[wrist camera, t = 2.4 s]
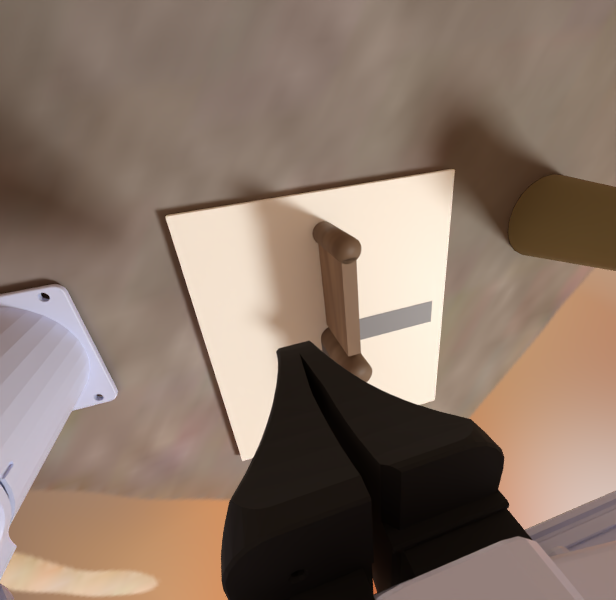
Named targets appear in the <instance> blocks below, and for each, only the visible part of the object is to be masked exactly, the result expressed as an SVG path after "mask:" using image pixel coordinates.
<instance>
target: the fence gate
mask: <svg viewBox="0 0 616 600" xmlns="http://www.w3.org/2000/svg"><path fill="white" fill-rule="evenodd" d="M312 235H313V238H314V240H315V241H316V242H317V243H318V246H319V256H320V265H321V275H322V285H323V294H324V304H325V314H326V323H327V326H328V327H329V329H330V330H331V332H332V333H333V335H334V336H335V338H336V339H337V340H338V342H339V343H340V345H341V346H342V348H343V349H344V351H345V352H346V354H347V355H348V357H349V356H353V355H356V354H360V353H361V343H360V322H359V302H358V282H357V261H356V260H357V259H358V258H359V256H360V254H361V244H360V242H359V240H357V239H356V238H354V237H353V236H351V235H349V234H348V233H346V232H344V231H343V230H341V229H339V228H338V227H336V226H334V225H333V224H331V223H329V222H327V221H322V222H319V223H318V224H316V226H315V227H314V229H313V233H312Z"/></svg>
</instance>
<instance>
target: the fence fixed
mask: <svg viewBox="0 0 616 600" xmlns="http://www.w3.org/2000/svg"><path fill="white" fill-rule="evenodd" d="M321 341H322V344H323V345H324V347H325V349H326V350H327V352H328V354H329V356H330V358H331V359H333V360H334V361H335V362H337V363H338V364H339V365H341V366H342V367H343V368H345V369H346V370H348V371H349V372H351V373H352V374H354V375H355V376H357V377H359V378H360V379H362V380H363V381H365V382H368V380H369V379H370V378H371V375H372V368H371V366H370V365H369V363H368V362H367V361H366V359H365V358H364V357H363V355H362V354H361V353H360V354H356V355H353V356H349V357H348V355H347V354H346V352H345V351H344V349H343V348H342V346H341V345H340V343H339V342H338V340H337V339H336V338H335V336H334V335H333V333H332V332H331V330H330V329H329V327H328V328H326V329H325V330H324V331H323V333H322V335H321Z"/></svg>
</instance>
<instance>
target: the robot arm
mask: <svg viewBox="0 0 616 600" xmlns="http://www.w3.org/2000/svg"><path fill="white" fill-rule="evenodd" d="M41 293H46V294H48V295H49V297H50V299H46V298H43V297H42V296H41ZM276 354H277V359H278V373H277V383H276V389H275V394H274V399H273V404H272V408H271V412H270V415H269V418H268V422H267V425H266V428H265V430H264V433H263V436H262V439H261V441H260V444H259V446H258V448H257V450H256V453H255V455H254V457H253V459H252V461H251V463H250V465H249V468H248V470H247V471H246V473H245V475H244V477H243V479H242V481H241V482H240V484H239V486H238V488H237V489H236V491H235V493H234V495H233V496H232V498H231V500H230V502H229V506H228V511H227V516H226V520H225V526H224V532H223V540H222V550H221V569H222V570H221V572H222V585H223V589H224V592H225V594H226V596H227V598H228V600H616V491H614V492H612V493H609V494H607V495H605V496H603V497H600V498H598V499H595V500H593V501H591V502H588V503H586V504H584V505H581V506H579V507H577V508H574V509H572V510H570V511H567V512H565V513H563V514H561V515H558V516H556V517H553V518H551V519H549V520H546V521H544V522H542V523H539V524H537V525H535V526H532V527H530V528H528V529H525V530H524V529H523V528H522V526H521V525H520V524H519V523H518V522H517V520H516V519H515V518H514V517H513V516H512V514H511V513H510V512H509V511H508V510H507V508H508V507H509V503H508V501H507V500H506V499H505V497H504V496H503V495H502V494H501V493H500V491H499V490H498V487H499V483H500V479H501V475H502V471H503V464H504V456H503V452H502V450H501V448H500V447H499V446H498V445H497V444H496V443H495V442H494V441H493V440H492V439H491V438H490V437H489V436H488V435H487V434H486V433H485V432H484V431H483V430H482V429H481V428H480V427H479V426H478V425H477V424H475V423H474V422H473V421H472V420H471V419H467V418H463V417H459V416H455V415H451V414H447V413H443V412H439V411H436V410H432V409H429V408H426V407H423V406H420V405H417V404H414V403H411V402H408V401H406V400H403V399H401V398H399V397H396V396H394V395H391V394H389V393H387V392H385V391H382V390H380V389H378V388H376V387H375V386H373V385H371V384H369V383H367V382H365V381H363V380H362V379H360V378H359V377H357V376H355V375H354V374H352V373H351V372H349V371H348V370H346V369H345V368H343V367H342V366H341V365H339V364H338V363H337V362H335V361H334V360H333V359H331V358H330V357H329V356H327V355H326V354H325V353H324V352H323V351H321V350H320V349H319V348H318V347H317V346H316V345H314V344H313V343H312V342H311V341H305V342H301V343H297V344H294V345H290V346H286V347H282V348H278V350H277V351H276ZM117 393H118V390H117V388H116V386H115V384H114V382H113V380H112V378H111V376H110V374H109V372H108V370H107V368H106V366H105V364H104V362H103V360H102V358H101V356H100V354H99V352H98V350H97V348H96V346H95V344H94V342H93V340H92V338H91V336H90V334H89V332H88V330H87V329H86V327H85V325H84V323H83V321H82V319H81V317H80V315H79V313H78V311H77V309H76V307H75V305H74V303H73V301H72V299H71V297H70V295H69V293H68V291H67V290H66V288H65V287H63V286H61V285H58V284H52V285H46V286H41V287H36V288H30V289H25V290H20V291H15V292H9V293H4V294H0V580H1V578H2V576H3V573H4V571H5V569H6V567H7V565H8V563H9V561H10V559H11V557H12V555H13V553H14V551H15V549H16V547H17V546H16V545H15V544H14V543H13V542H12V541H11V539H10V537H9V534H8V530H9V526H10V525H11V523H12V520H13V519H14V517H15V515H16V513H17V512H18V510H19V508H20V506H21V504H22V502H23V500H24V499H25V497H26V495H27V493H28V491H29V489H30V487H31V486H32V484H33V482H34V480H35V478H36V476H37V474H38V473H39V471H40V469H41V467H42V465H43V463H44V461H45V460H46V458H47V456H48V454H49V452H50V450H51V448H52V447H53V445H54V443H55V441H56V439H57V437H58V435H59V434H60V432H61V430H62V428H63V426H64V424H65V423H66V421H67V419H68V417H69V415H70V413H71V411H73V410H77V409H81V408H85V407H89V406H93V405H96V404H100V403H104V402H108V401H111V400H114V399H115V398H116V396H117ZM97 394H101V395H102V397H99V396H97ZM373 580H374V583H375V587H376V589H377V593H376V594H374V595H373ZM0 600H14V597H13V595H12V594H11V593H10V591H9V590H8V588H6V587H5V586H3V585H2V584H0Z"/></svg>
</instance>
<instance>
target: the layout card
mask: <svg viewBox="0 0 616 600" xmlns="http://www.w3.org/2000/svg"><path fill="white" fill-rule="evenodd" d="M454 174H455V169H447V170H441V171H435V172H429V173H423V174H417V175H410V176H404V177H398V178H392V179H386V180H380V181H373V182H367V183H361V184H355V185H349V186H343V187H336V188H330V189H324V190H318V191H312V192H306V193H299V194H293V195H287V196H281V197H275V198H269V199H262V200H256V201H250V202H244V203H238V204H232V205H225V206H219V207H213V208H207V209H201V210H195V211H188V212H182V213H176V214H170V215H166V216H165V217H166V221H167V224H168V227H169V230H170V233H171V236H172V240H173V243H174V246H175V249H176V252H177V255H178V259H179V262H180V265H181V268H182V271H183V274H184V278H185V281H186V284H187V287H188V290H189V293H190V297H191V300H192V303H193V306H194V309H195V312H196V316H197V319H198V322H199V325H200V328H201V331H202V335H203V338H204V341H205V344H206V347H207V350H208V354H209V357H210V360H211V363H212V366H213V369H214V373H215V376H216V379H217V382H218V385H219V389H220V392H221V395H222V398H223V401H224V404H225V408H226V411H227V414H228V417H229V420H230V423H231V427H232V430H233V433H234V436H235V439H236V442H237V446H238V449H239V452H240V455H241V458H242V461H244V460H247V459H251V458H253V457H254V455H255V453H256V450H257V448H258V446H259V444H260V441H261V439H262V436H263V433H264V430H265V428H266V425H267V422H268V418H269V415H270V412H271V408H272V404H273V399H274V394H275V389H276V383H277V373H278V359H277V354H276V351H277V350H278V348H282V347H286V346H290V345H294V344H297V343H301V342H305V341H311V342H312V343H313V344H314V345H316V346H317V347H318V348H319V349H320V350H321V351H323V352H324V353H325V354H326V355H327V356H329V354H328V352H327V350H326V349H325V347H324V345H323V344H322V341H321V335H322V333H323V331H324V330H325V329H326V328H328V326H327V323H326V314H325V304H324V294H323V285H322V275H321V265H320V256H319V246H318V243H317V242H316V241H315V240H314V238H313V235H312V233H313V229H314V227H315V226H316V224H318V223H319V222H322V221H327V222H329V223H331V224H333V225H334V226H336V227H338V228H339V229H341V230H343V231H344V232H346V233H348V234H349V235H351V236H353V237H354V238H356V239H357V240H359V242H360V244H361V254H360V256H359V258H358V259H357V260H356V261H357V282H358V302H359V322H360V343H361V354H362V355H363V357H364V358H365V359H366V361H367V362H368V363H369V365H370V366H371V368H372V375H371V378H370V379H369V380H368V382H367V383H369V384H371V385H373V386H375V387H376V388H378V389H380V390H382V391H385V392H387V393H389V394H391V395H394V396H396V397H399V398H401V399H403V400H406V401H408V402H411V403H414V404H417V405H421V404H424V403H427V402H430V401H433V400H435V392H436V380H437V369H438V357H439V346H440V334H441V323H442V311H443V300H444V288H445V277H446V265H447V254H448V242H449V231H450V219H451V208H452V196H453V185H454ZM329 357H330V356H329Z"/></svg>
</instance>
